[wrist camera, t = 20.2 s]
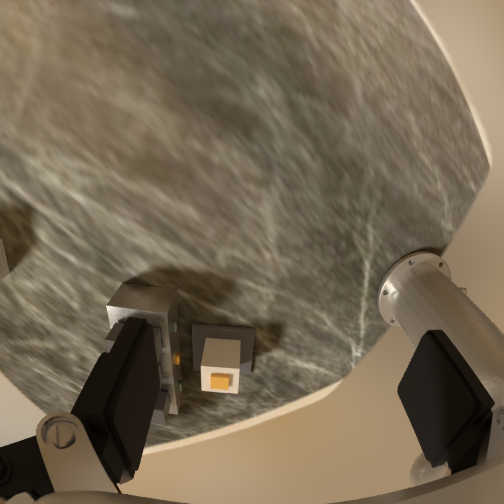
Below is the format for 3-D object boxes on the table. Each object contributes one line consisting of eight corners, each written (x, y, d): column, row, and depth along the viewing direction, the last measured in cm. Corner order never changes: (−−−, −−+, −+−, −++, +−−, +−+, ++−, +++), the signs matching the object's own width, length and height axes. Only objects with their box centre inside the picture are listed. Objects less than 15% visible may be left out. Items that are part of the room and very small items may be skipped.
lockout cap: (240, 340, 43) (239, 372, 37) (238, 364, 45) (237, 396, 39) (205, 337, 43) (200, 368, 37) (206, 362, 45) (201, 393, 39)
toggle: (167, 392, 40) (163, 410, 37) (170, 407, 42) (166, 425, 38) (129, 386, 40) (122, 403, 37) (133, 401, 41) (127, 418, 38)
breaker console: (180, 288, 41) (171, 313, 35) (186, 388, 48) (181, 415, 43) (122, 282, 40) (106, 305, 35) (139, 382, 48) (130, 406, 43)
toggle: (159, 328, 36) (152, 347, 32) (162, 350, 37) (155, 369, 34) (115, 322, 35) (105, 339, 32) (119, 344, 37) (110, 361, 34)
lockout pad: (255, 327, 43) (255, 330, 43) (250, 372, 47) (250, 374, 46) (192, 323, 43) (191, 325, 42) (193, 367, 46) (193, 370, 46)
